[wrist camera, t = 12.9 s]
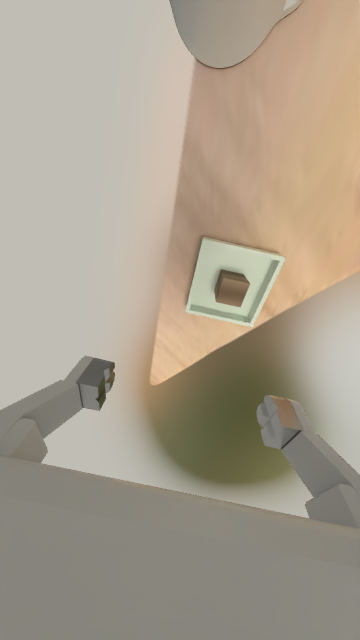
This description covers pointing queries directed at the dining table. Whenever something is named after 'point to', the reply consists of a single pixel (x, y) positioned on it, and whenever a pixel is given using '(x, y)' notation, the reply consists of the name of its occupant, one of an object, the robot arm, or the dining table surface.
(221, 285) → the walnut block
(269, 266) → the bin
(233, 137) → the dining table surface
